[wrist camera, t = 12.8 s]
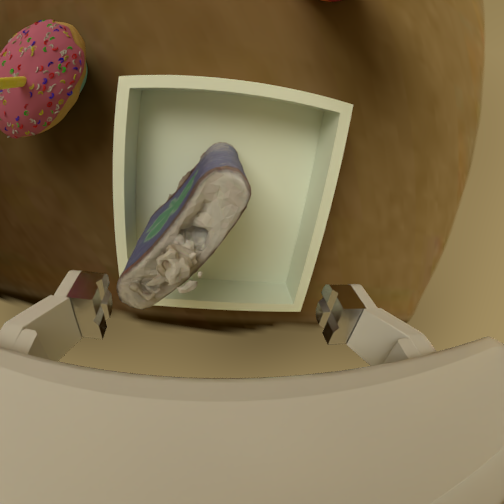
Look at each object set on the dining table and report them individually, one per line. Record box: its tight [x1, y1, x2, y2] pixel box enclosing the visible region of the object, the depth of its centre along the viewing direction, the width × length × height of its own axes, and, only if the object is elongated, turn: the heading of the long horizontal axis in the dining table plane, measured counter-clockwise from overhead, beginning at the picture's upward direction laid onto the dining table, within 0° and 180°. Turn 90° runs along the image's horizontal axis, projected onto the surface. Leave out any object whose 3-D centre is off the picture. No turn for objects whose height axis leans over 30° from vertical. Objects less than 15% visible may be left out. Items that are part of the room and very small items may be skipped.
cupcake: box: [0, 19, 88, 138], centre depth 10 cm, size 9×8×12 cm
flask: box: [117, 142, 251, 309], centre depth 16 cm, size 9×3×11 cm, turn 135°
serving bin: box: [113, 75, 353, 312], centre depth 20 cm, size 15×17×4 cm
